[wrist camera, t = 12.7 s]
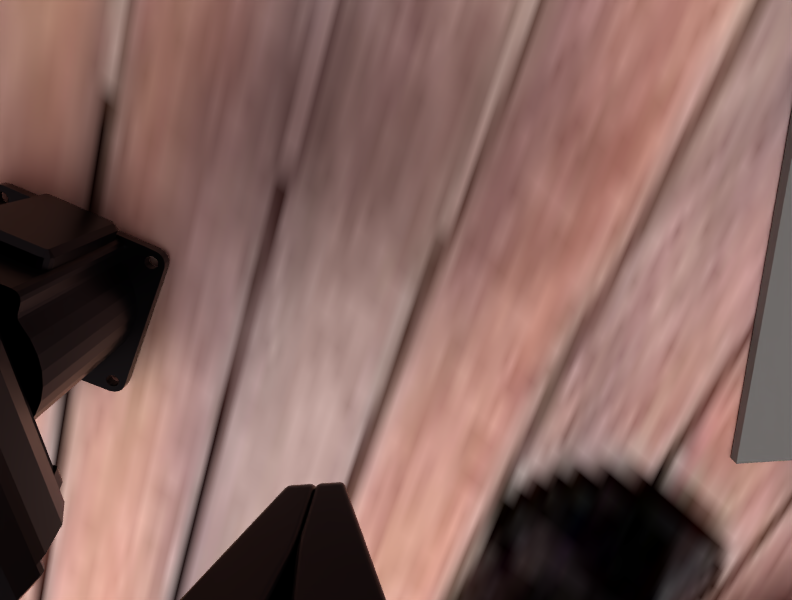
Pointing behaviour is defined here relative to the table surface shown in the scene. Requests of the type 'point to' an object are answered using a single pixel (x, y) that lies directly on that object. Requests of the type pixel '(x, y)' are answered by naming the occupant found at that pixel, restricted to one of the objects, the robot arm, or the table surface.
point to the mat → (771, 344)
